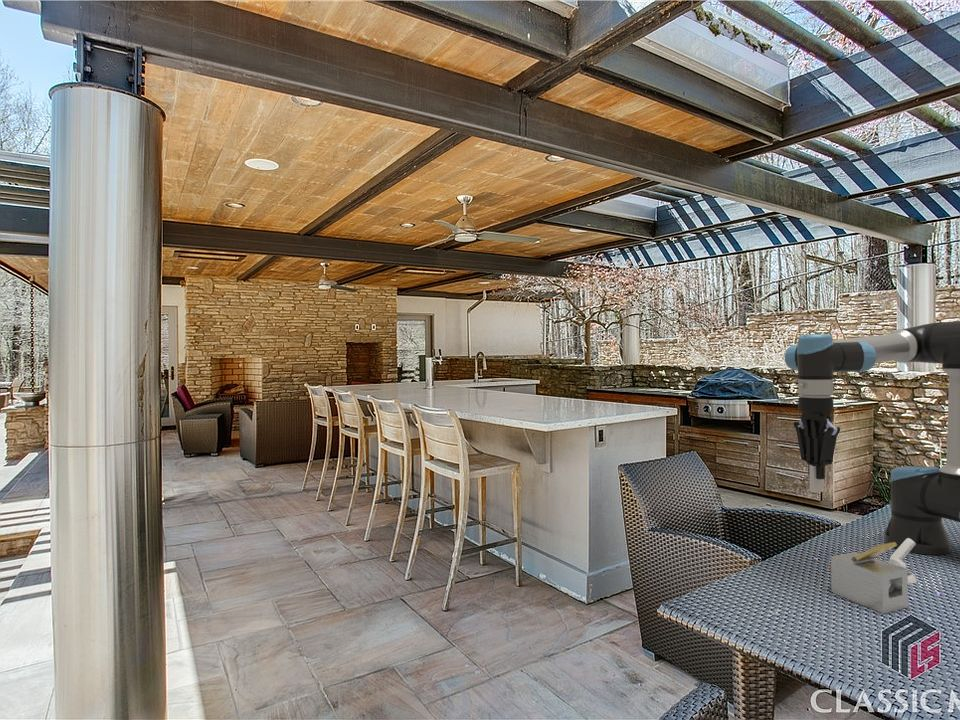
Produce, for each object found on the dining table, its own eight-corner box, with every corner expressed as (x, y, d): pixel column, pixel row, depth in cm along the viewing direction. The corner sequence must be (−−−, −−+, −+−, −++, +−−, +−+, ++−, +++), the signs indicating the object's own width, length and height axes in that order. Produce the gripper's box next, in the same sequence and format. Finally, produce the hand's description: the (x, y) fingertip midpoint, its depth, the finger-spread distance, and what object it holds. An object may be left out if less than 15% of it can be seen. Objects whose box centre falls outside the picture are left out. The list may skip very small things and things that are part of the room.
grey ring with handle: (944, 562, 137) (926, 548, 136) (912, 599, 138) (893, 586, 137) (918, 545, 144) (900, 532, 143) (887, 581, 146) (869, 568, 144)
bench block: (855, 587, 136) (854, 551, 136) (908, 607, 125) (907, 569, 125) (831, 592, 133) (831, 556, 133) (883, 613, 122) (882, 574, 122)
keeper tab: (872, 559, 131) (868, 554, 132) (898, 546, 125) (894, 541, 126) (854, 563, 129) (850, 558, 129) (879, 549, 123) (875, 544, 124)
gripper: (783, 395, 145) (784, 486, 145) (821, 398, 132) (823, 498, 133) (809, 394, 147) (810, 484, 147) (849, 397, 134) (851, 496, 134)
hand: (816, 491), depth 140 cm, fingers closed
